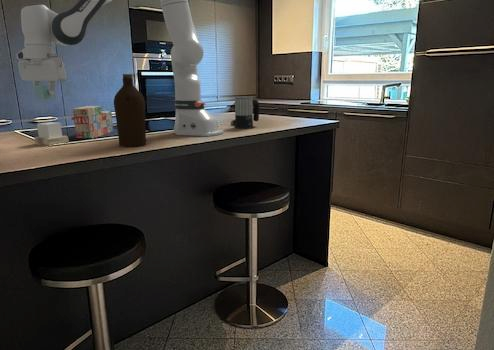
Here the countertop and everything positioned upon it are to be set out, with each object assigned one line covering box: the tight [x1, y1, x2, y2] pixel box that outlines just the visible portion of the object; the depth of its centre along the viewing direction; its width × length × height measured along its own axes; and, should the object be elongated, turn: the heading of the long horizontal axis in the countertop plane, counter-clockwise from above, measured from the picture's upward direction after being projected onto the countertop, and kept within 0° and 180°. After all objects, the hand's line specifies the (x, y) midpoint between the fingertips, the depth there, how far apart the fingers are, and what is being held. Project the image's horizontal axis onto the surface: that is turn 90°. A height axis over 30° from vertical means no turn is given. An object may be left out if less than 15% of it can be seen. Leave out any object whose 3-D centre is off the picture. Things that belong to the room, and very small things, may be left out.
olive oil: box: [113, 73, 147, 148], centre depth 131 cm, size 11×11×25 cm
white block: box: [36, 121, 63, 138], centre depth 136 cm, size 6×6×5 cm
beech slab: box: [33, 134, 70, 147], centre depth 137 cm, size 8×8×3 cm
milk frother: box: [230, 96, 260, 129], centre depth 182 cm, size 14×16×15 cm
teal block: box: [33, 84, 56, 101], centre depth 132 cm, size 4×4×5 cm
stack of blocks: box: [72, 105, 115, 140], centre depth 156 cm, size 21×6×12 cm, turn 175°
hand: (45, 94), depth 132 cm, fingers closed on teal block, 4 cm apart
